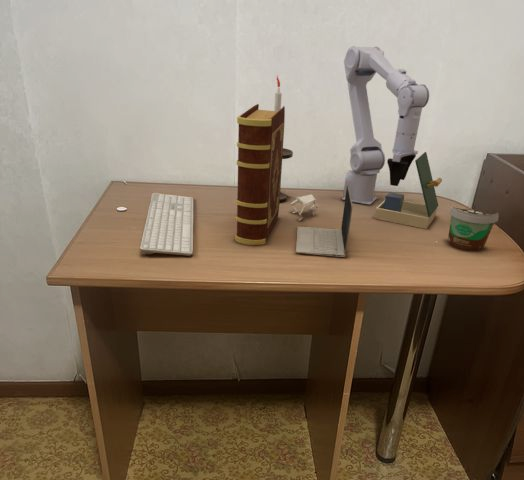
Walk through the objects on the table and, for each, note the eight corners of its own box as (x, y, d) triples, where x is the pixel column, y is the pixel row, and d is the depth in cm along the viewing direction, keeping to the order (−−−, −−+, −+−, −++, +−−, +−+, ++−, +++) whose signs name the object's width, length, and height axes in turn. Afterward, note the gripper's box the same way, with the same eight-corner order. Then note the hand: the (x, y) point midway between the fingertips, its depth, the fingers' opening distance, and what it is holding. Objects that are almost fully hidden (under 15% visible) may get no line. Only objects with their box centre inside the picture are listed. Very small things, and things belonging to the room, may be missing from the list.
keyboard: (192, 257, 125) (192, 248, 123) (140, 257, 123) (139, 248, 122) (193, 199, 161) (193, 192, 160) (153, 199, 160) (152, 191, 158)
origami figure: (289, 208, 158) (290, 192, 156) (316, 210, 158) (318, 194, 156) (289, 222, 148) (290, 205, 146) (318, 223, 148) (320, 206, 146)
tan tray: (374, 218, 154) (375, 208, 152) (385, 207, 163) (386, 197, 162) (426, 229, 149) (429, 218, 147) (434, 217, 158) (437, 206, 156)
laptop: (297, 228, 144) (301, 181, 137) (342, 232, 144) (348, 184, 136) (295, 254, 129) (299, 202, 122) (345, 258, 129) (353, 206, 121)
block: (382, 213, 156) (385, 195, 153) (386, 209, 160) (389, 192, 157) (397, 216, 155) (400, 198, 152) (400, 212, 158) (404, 194, 155)
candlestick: (248, 196, 166) (252, 74, 147) (273, 191, 173) (280, 72, 153) (271, 205, 160) (278, 78, 140) (296, 199, 166) (306, 77, 147)
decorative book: (263, 247, 132) (269, 120, 116) (233, 243, 133) (235, 117, 117) (279, 218, 151) (286, 105, 134) (252, 215, 152) (256, 103, 135)
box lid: (415, 160, 141) (429, 156, 139) (424, 152, 150) (438, 148, 148) (428, 217, 147) (442, 214, 145) (436, 205, 156) (450, 202, 154)
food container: (437, 246, 138) (446, 209, 132) (442, 239, 142) (451, 203, 137) (486, 256, 133) (497, 219, 128) (489, 249, 138) (500, 212, 132)
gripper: (414, 139, 138) (404, 190, 145) (426, 130, 149) (416, 178, 156) (389, 135, 140) (380, 186, 148) (402, 127, 151) (393, 175, 159)
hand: (397, 182), depth 152 cm, fingers open, 7 cm apart
